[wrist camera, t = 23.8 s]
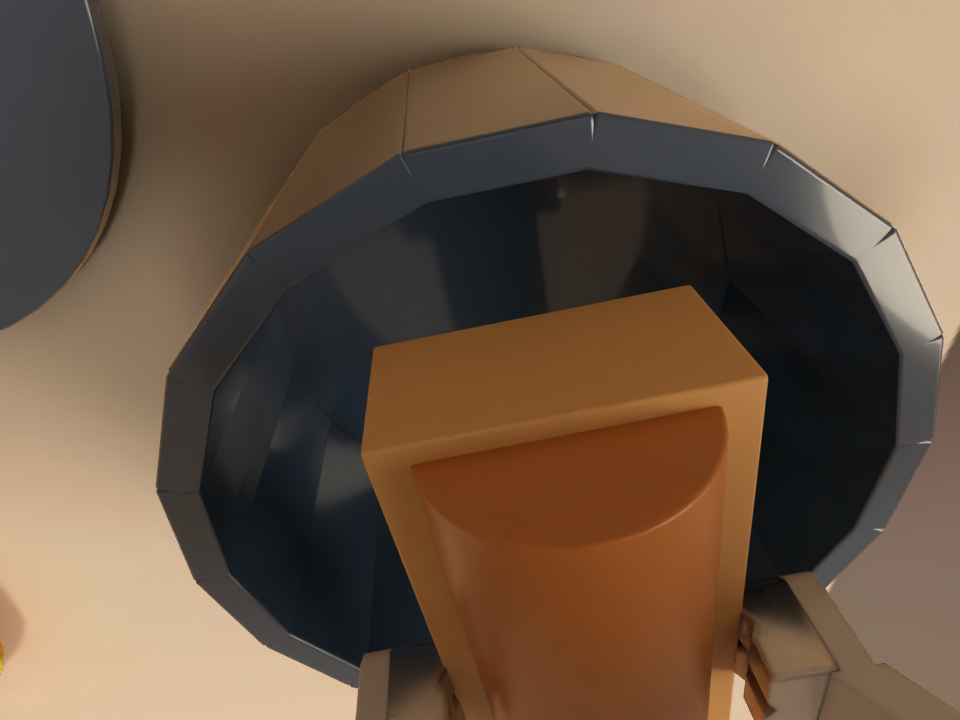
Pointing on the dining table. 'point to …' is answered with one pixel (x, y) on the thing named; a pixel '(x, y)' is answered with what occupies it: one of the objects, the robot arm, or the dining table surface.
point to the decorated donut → (0, 661)
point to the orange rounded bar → (575, 504)
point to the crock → (517, 294)
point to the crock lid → (53, 146)
